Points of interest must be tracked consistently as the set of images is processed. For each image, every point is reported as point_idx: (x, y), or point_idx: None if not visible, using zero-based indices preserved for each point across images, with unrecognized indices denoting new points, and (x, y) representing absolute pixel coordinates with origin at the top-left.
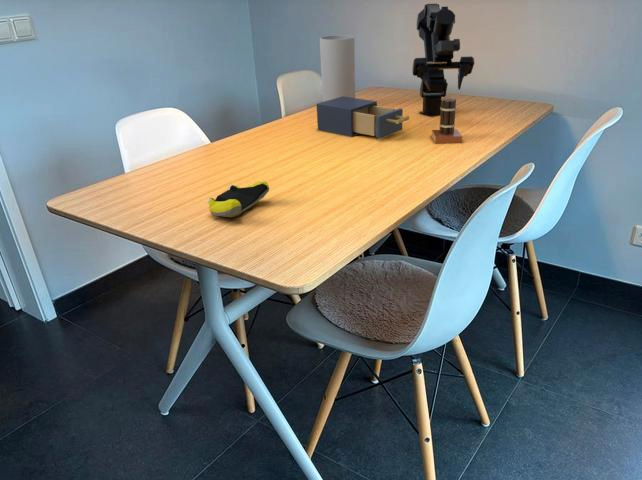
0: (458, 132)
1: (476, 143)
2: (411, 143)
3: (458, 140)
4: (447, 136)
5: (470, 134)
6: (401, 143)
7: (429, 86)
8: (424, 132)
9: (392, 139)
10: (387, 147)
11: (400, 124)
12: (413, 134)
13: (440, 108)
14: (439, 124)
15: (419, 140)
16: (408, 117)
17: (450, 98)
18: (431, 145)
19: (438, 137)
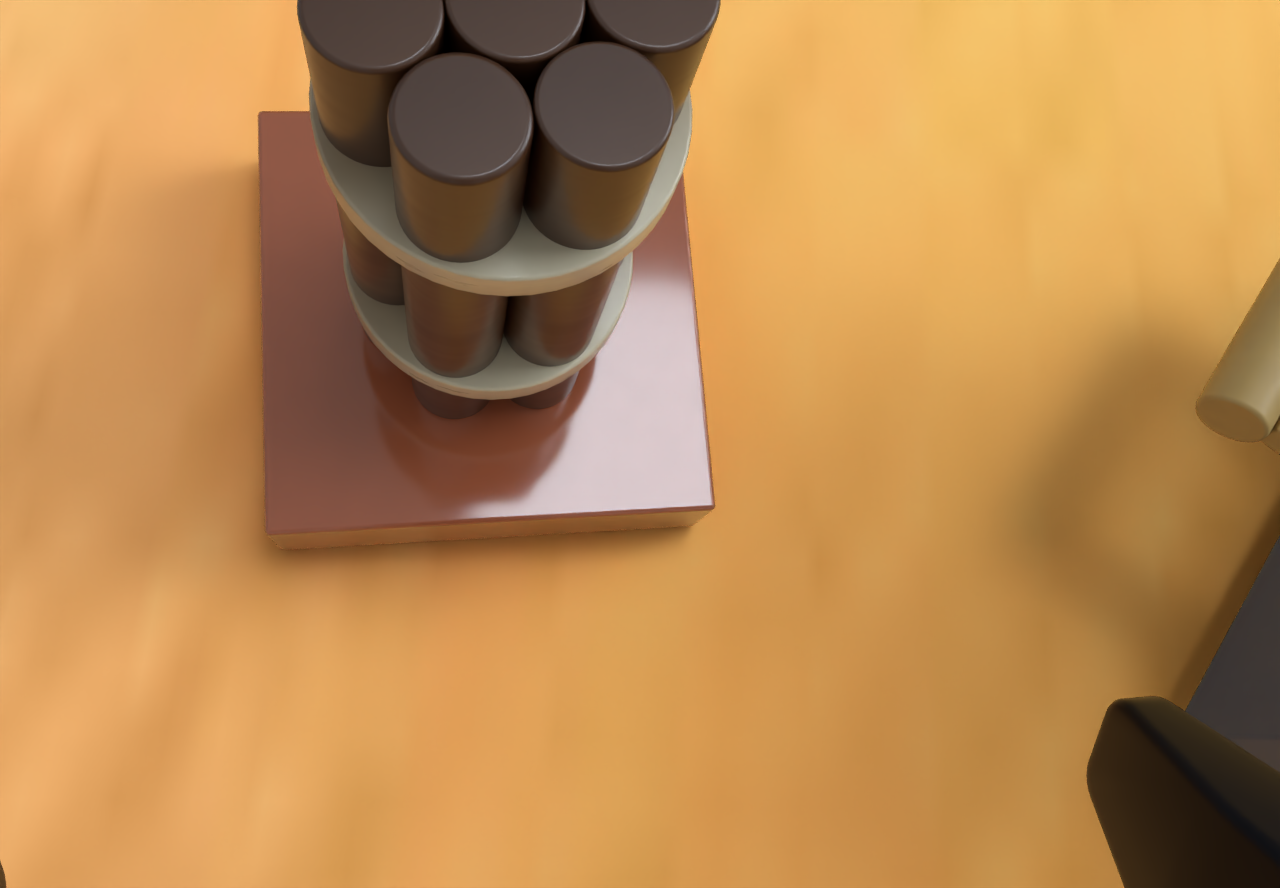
0: (278, 323)
1: (43, 110)
2: (979, 187)
3: None
4: None
5: (22, 613)
6: (1107, 197)
7: (1206, 735)
8: (799, 757)
9: None
10: (1257, 49)
11: (1259, 689)
12: (969, 640)
13: (687, 104)
14: (632, 253)
15: (875, 317)
16: (1228, 375)
17: (443, 155)
18: (715, 77)
19: None
